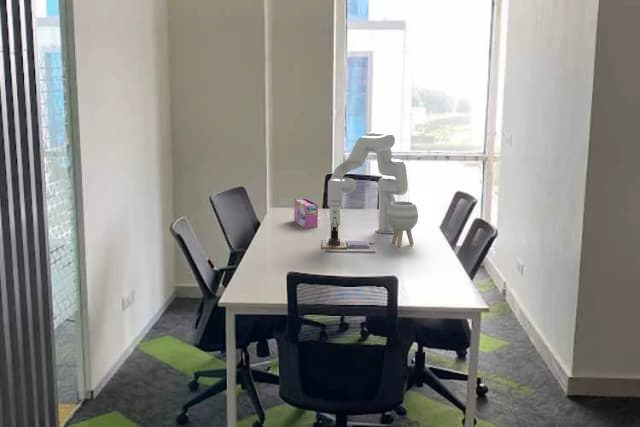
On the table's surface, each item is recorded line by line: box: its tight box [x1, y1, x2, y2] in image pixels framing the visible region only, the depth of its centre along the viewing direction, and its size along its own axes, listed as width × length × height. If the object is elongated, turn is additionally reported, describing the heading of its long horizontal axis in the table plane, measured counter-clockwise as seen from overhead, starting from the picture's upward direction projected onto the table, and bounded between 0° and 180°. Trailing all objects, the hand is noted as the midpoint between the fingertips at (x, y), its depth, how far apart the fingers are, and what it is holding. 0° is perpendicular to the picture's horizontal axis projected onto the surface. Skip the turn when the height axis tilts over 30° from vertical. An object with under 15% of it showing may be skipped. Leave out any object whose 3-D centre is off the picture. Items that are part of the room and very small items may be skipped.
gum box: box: [293, 198, 319, 229], centre depth 420 cm, size 24×8×14 cm, turn 19°
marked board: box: [321, 239, 348, 250], centre depth 367 cm, size 13×16×1 cm
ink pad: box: [346, 240, 370, 249], centre depth 366 cm, size 11×11×2 cm
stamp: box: [328, 220, 341, 245], centre depth 365 cm, size 6×6×13 cm
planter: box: [387, 200, 419, 248], centre depth 367 cm, size 16×16×22 cm
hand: (334, 237), depth 366 cm, fingers closed on stamp, 4 cm apart
